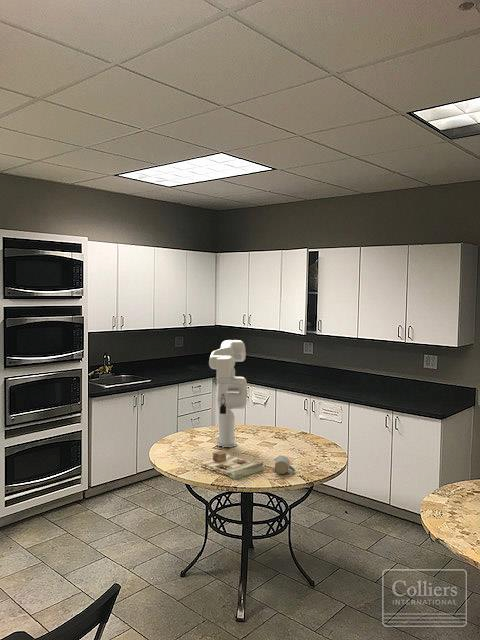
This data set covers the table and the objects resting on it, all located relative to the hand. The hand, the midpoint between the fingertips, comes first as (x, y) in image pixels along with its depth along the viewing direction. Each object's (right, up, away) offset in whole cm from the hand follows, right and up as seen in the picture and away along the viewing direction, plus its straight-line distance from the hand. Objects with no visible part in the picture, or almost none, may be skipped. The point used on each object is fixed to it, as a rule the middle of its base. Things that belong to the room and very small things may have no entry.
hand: (223, 411), depth 287 cm
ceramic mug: (+32, -29, -14) cm, 45 cm away
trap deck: (+5, -28, -9) cm, 30 cm away
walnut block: (-2, -26, -2) cm, 26 cm away
